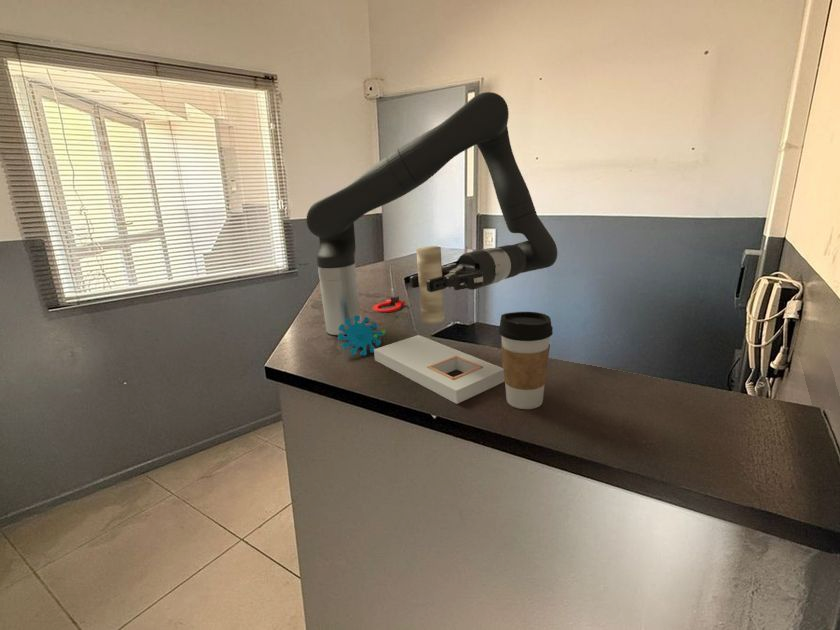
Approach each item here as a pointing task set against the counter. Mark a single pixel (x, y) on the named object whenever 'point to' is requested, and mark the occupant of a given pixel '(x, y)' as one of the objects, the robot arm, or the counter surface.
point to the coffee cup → (525, 356)
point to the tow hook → (394, 297)
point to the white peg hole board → (440, 367)
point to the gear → (360, 335)
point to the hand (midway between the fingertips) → (419, 284)
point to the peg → (427, 270)
